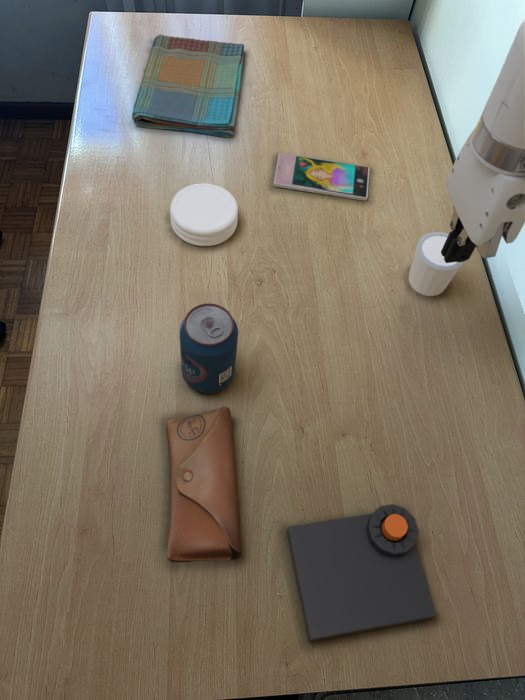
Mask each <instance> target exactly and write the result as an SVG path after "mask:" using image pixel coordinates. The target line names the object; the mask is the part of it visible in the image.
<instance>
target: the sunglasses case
mask: <svg viewBox="0 0 525 700" xmlns="http://www.w3.org/2000/svg"><path fill="white" fill-rule="evenodd" d="M165 424H166V425H165V426H166V429H165V430H166V436H167V446H168V463H169V465H168V467H169V469H168V470H169V516H168V517H169V523H168V533H167V534H168V536H167V537H168V538H167V550H166V557H167V559H169V560H170V561H173V562H185V563H187V562H188V563H189V562H213V561H232V560H236V559H238V558H240V557H241V556H242V544H241V543H242V541H241V540H242V539H241V523H240V521H241V520H240V508H239V507H240V505H239V494H238V481H237V468H236V453H235V440H234V429H233V419H232V412H231V409H230V408H229V407H228V406H223V407H221V408H217V409H214V410H210V411H207V412H203V413H199V414H195V415H191V416H189V417H180V418H179V417H178V418H177V417H175V418H169V419H168V420H166V422H165Z"/></svg>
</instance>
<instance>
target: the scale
mask: <svg viewBox="0 0 525 700" xmlns="http://www.w3.org/2000/svg"><path fill="white" fill-rule="evenodd" d="M392 514H398V515H400V516H402V517H403V518H404V519H405V520H406V522H407V525H408V530H407V532H406V534H405V535H404V536H403V537H402V538H401V539H400V540H398V541H391V540H389V539H387V538H386V537H385V536H384V534H383V532H382V524H383V522H384V521H385V520H386V518H387V517H388V516H390V515H392ZM418 537H419V528H418V525H417V521H416V519H415V517H414V516H413V515H412V514H411V513H410V511H408V510H407V509H406V508H404V507H402V506H400V505H396V504H393V503H392V504H386V505H381V506H379V507H378V508H377V509H376V510H375V511H373V512H372V513H366V514H360V515H355V516H349V517H342V518H337V519H336V518H335V519H329V520H324V521H323V520H322V521H317V522H312V523H311V522H310V523H305V524H298V525H292V526H288V527H287V529H286V538H287V543H288V547H289V551H290V552H289V553H290V557H291V563H292V567H293V572H294V578H295V581H296V586H297V591H298V592H297V593H298V597H299V602H300V605H301V613H302V616H303V622H304V627H305V631H306V636H307V641H308V642H309V643H311V642H316V641H322V640H327V639H332V638H338V637H342V636H348V635H354V634H358V633H363V632H368V631H374V630H379V629H385V628H389V627H395V626H400V625H405V624H410V623H411V624H412V623H415V622H422V621H427V620H432V619H433V618H435V617H437V612H436V610H435V606H434V602H433V599H432V595H431V592H430V589H429V586H428V582H427V579H426V576H425V572H424V569H423V565H422V562H421V558H420V555H419V552H418V549H417V545H416V544H417V540H418Z"/></svg>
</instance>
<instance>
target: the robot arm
mask: <svg viewBox="0 0 525 700" xmlns="http://www.w3.org/2000/svg"><path fill="white" fill-rule="evenodd" d="M446 191H447V194H448V197H449V199H450V201H451V204H452V207H453V208H452V209H453V213H452V216H451V219H450V222H449V227H450V230H451V231H450V232H449V233H448V237H447V239H446V242H445V244H444V246H443V248H442V250H441V254H442V256H444V260H445V263H451V262H463V263H464V262H466V261H468V260H469V259H470V258H471V257H472V255H473V253H474V251H475V249H476V251H477V252H478V253H479V255H480V256H481V258H483V259H488V258H495V257H496V255H497V253H498V250H499V246H500V244H501V240H502V238H503V240H504V242H505V244H506V245H508V244H512V243H514V242H515V241H516V239H517V237H518V236H519V235H520V233H521V230H522V229H523V227H524V225H525V18H524V19H523V20H522V21H521V23H520V25H519V26H518V29H517V30H516V33H515V36H514V38H513V40H512V43H511V44H510V47H509V50H508V52H507V54H506V57H505V59H504V61H503V64H502V66H501V68H500V71H499V73H498V75H497V78H496V80H495V82H494V85H493V87H492V89H491V92H490V93H489V96H488V98H487V101H486V103H485V105H484V107H483V110H482V112H481V115H480V117H479V119H478V122H477V124H476V125H475V127H474V128H473V130H472V131H471V132H470V134H469V135H468V137H467V139H466V140H465V142H464V143H463V146H462V147H461V149H460V151H459V153H458V155H457V157H456V159H455V160H454V163H453V165H452V167H451V170H450V172H449V175H448V178H447V182H446Z"/></svg>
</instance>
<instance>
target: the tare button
mask: <svg viewBox="0 0 525 700" xmlns="http://www.w3.org/2000/svg"><path fill="white" fill-rule="evenodd" d="M407 530H408V525H407V522H406V520H405V519H404V518H403V517H402V516H400V515H398V514H392V515H390V516H388V517H387V518H386V520H385V521H384V522H383V524H382V532H383V534H384V536H385V537H386V538H387V539H389V540H391V541H398V540H400V539H401V538H402V537H403V536H404V535H405V534H406V532H407Z"/></svg>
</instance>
